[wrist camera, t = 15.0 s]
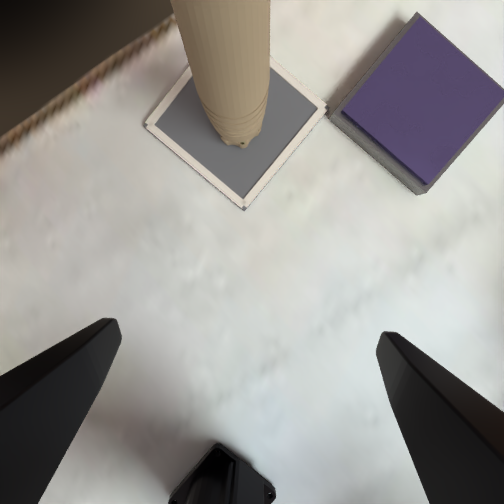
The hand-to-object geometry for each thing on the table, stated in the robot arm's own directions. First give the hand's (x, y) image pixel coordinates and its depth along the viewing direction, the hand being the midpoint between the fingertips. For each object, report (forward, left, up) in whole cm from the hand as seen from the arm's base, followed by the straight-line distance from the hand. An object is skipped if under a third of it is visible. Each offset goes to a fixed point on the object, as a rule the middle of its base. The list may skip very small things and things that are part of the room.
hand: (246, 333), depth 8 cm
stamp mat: (+9, +9, -11) cm, 17 cm away
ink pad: (+18, -1, -11) cm, 21 cm away
